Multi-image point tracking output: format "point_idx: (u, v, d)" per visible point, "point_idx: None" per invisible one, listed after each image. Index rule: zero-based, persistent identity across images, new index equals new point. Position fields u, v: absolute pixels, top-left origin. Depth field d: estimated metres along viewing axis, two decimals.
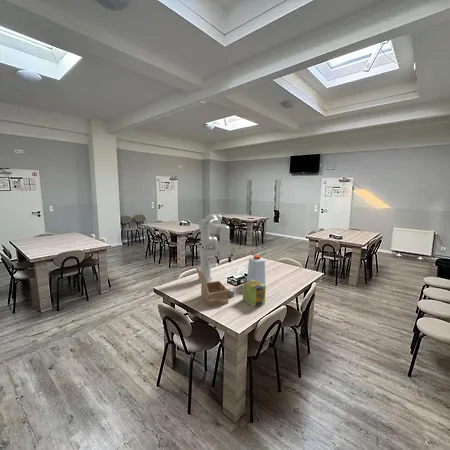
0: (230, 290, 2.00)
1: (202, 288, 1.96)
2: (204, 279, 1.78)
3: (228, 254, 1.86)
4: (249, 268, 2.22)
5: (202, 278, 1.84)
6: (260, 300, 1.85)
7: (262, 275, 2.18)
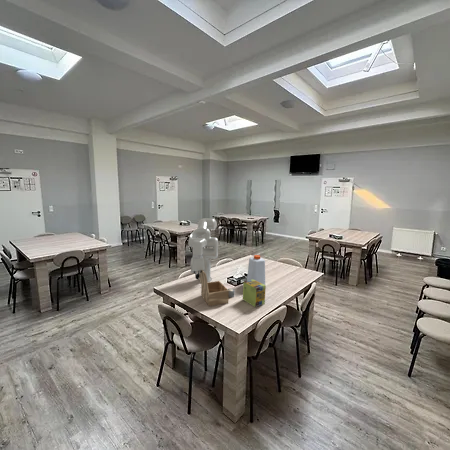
0: (230, 290, 2.00)
1: (202, 288, 1.96)
2: (205, 278, 1.78)
3: (201, 268, 1.84)
4: (249, 268, 2.22)
5: (203, 278, 1.85)
6: (260, 300, 1.85)
7: (262, 275, 2.18)
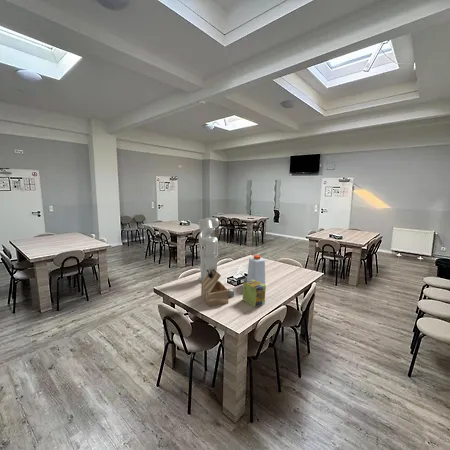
0: (230, 290, 2.00)
1: (202, 288, 1.96)
2: (217, 279, 1.82)
3: (214, 267, 1.88)
4: (249, 268, 2.22)
5: (213, 278, 1.88)
6: (260, 300, 1.85)
7: (262, 275, 2.18)
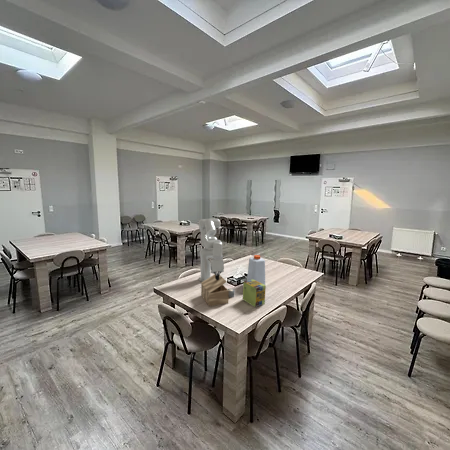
0: (230, 290, 2.00)
1: (202, 288, 1.96)
2: (221, 283, 1.84)
3: (221, 269, 1.90)
4: (249, 268, 2.22)
5: (216, 282, 1.90)
6: (260, 300, 1.85)
7: (262, 275, 2.18)
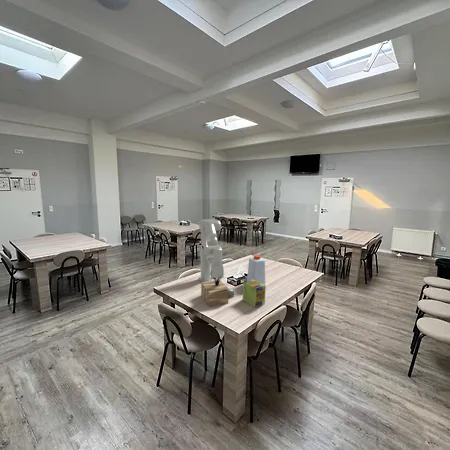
0: (230, 290, 2.00)
1: (202, 288, 1.96)
2: (223, 289, 1.86)
3: (221, 275, 1.91)
4: (249, 268, 2.22)
5: (218, 286, 1.91)
6: (260, 300, 1.85)
7: (262, 275, 2.18)
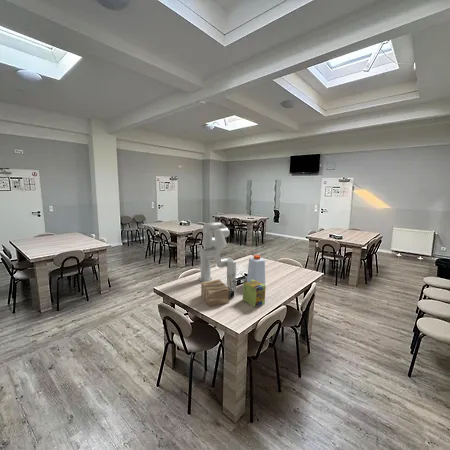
0: (230, 290, 2.00)
1: (202, 288, 1.96)
2: (223, 289, 1.86)
3: (230, 287, 1.96)
4: (249, 268, 2.22)
5: (218, 286, 1.91)
6: (260, 300, 1.85)
7: (262, 275, 2.18)
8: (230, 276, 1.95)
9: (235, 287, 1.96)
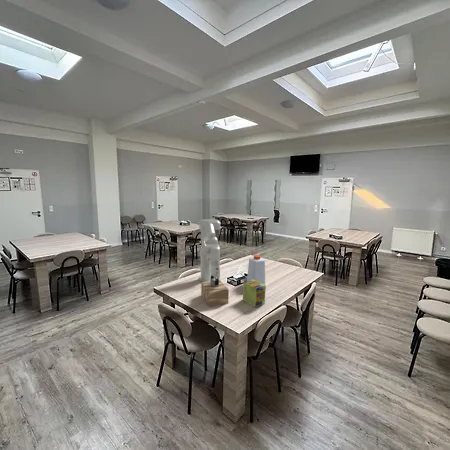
0: (214, 279, 1.91)
1: (202, 288, 1.96)
2: (223, 289, 1.86)
3: (213, 275, 1.88)
4: (249, 268, 2.22)
5: (218, 286, 1.91)
6: (260, 300, 1.85)
7: (262, 275, 2.18)
8: (213, 263, 1.86)
9: (219, 275, 1.87)
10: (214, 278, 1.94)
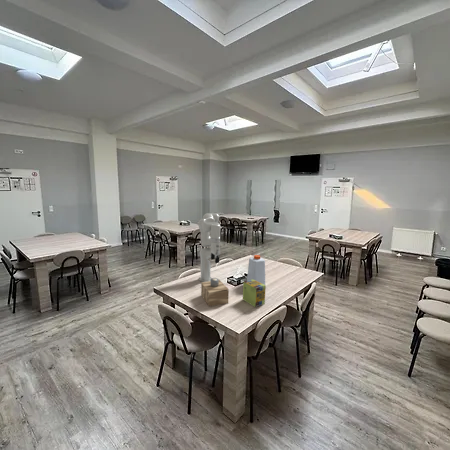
0: (214, 279, 1.91)
1: (202, 288, 1.96)
2: (223, 289, 1.86)
3: (213, 253, 1.85)
4: (249, 268, 2.22)
5: (218, 286, 1.91)
6: (260, 300, 1.85)
7: (262, 275, 2.18)
8: (214, 241, 1.83)
9: (219, 252, 1.84)
10: (214, 278, 1.94)
